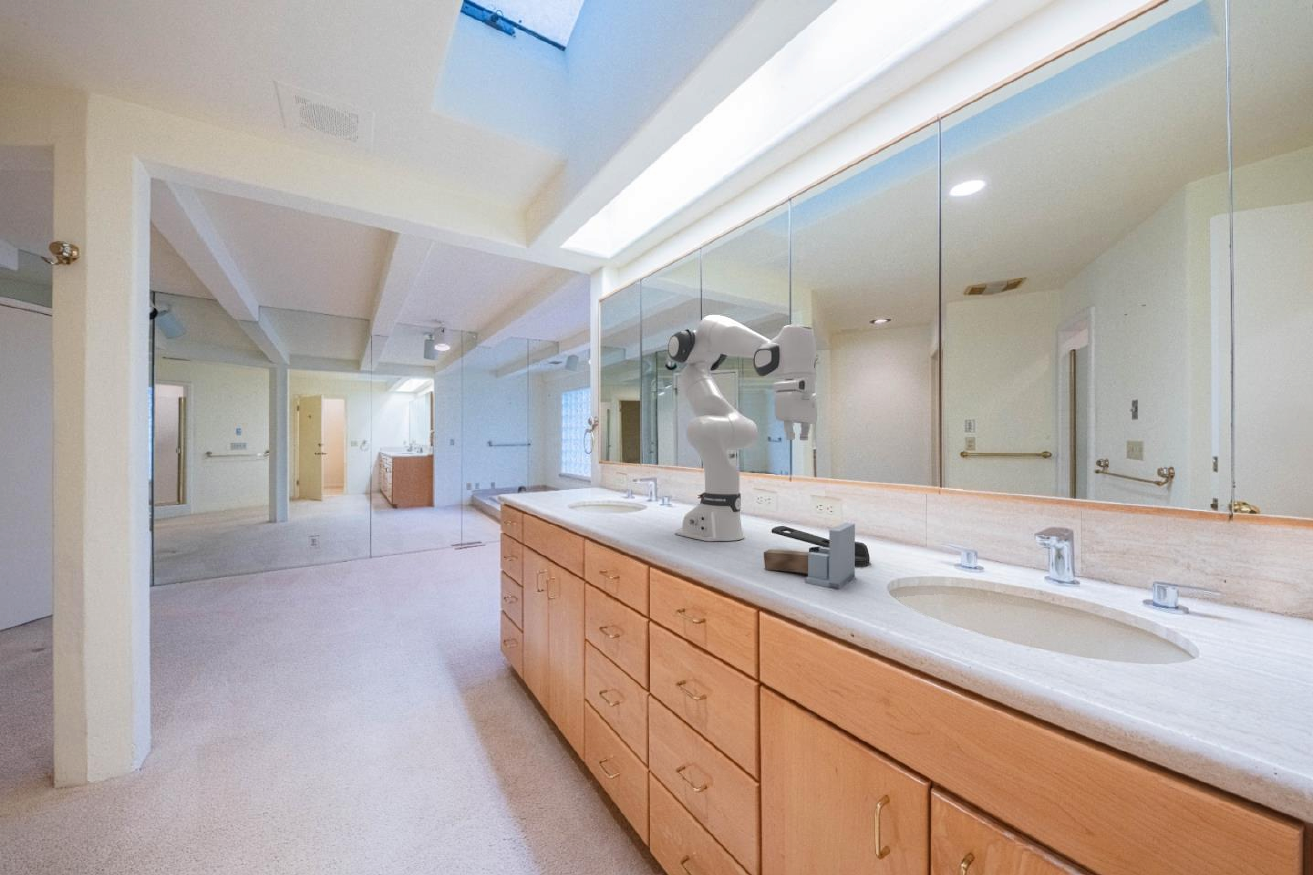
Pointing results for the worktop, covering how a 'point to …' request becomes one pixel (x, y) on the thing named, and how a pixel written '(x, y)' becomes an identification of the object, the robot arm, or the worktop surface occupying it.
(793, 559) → the brown long rectangular block
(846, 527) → the post block
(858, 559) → the black stapler
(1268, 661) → the worktop surface
